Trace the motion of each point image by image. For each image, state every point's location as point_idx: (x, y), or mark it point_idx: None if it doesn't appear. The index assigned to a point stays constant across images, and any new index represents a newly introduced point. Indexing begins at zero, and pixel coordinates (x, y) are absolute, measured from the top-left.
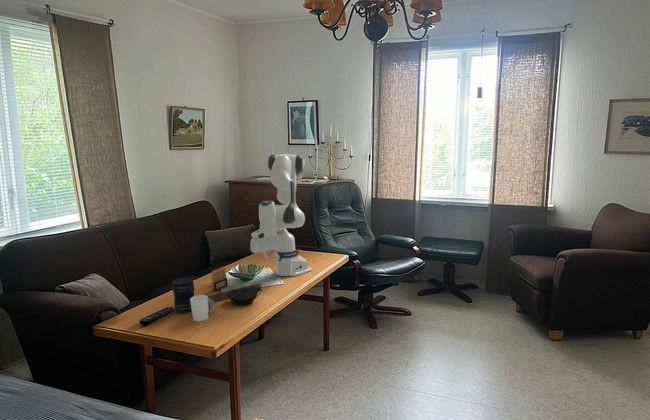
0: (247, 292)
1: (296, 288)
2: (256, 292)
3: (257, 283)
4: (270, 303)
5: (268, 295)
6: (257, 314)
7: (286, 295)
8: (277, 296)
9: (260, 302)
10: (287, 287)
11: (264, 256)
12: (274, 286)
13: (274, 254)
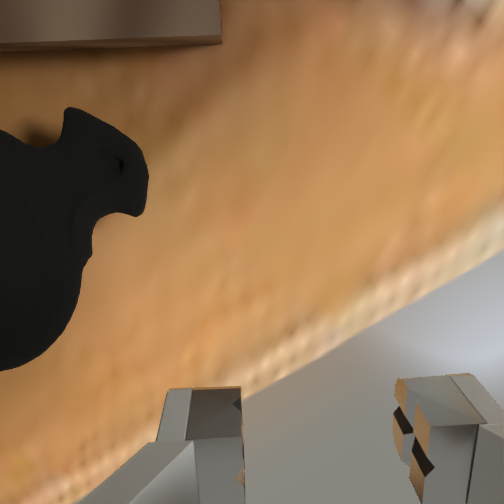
0: (4, 209)
1: (485, 218)
2: (72, 290)
3: (178, 21)
4: (156, 384)
5: (214, 224)
6: (15, 492)
7: (329, 313)
8: (263, 291)
9: (100, 326)
10: (448, 141)
11: (159, 447)
12: (375, 22)
13: (453, 497)
